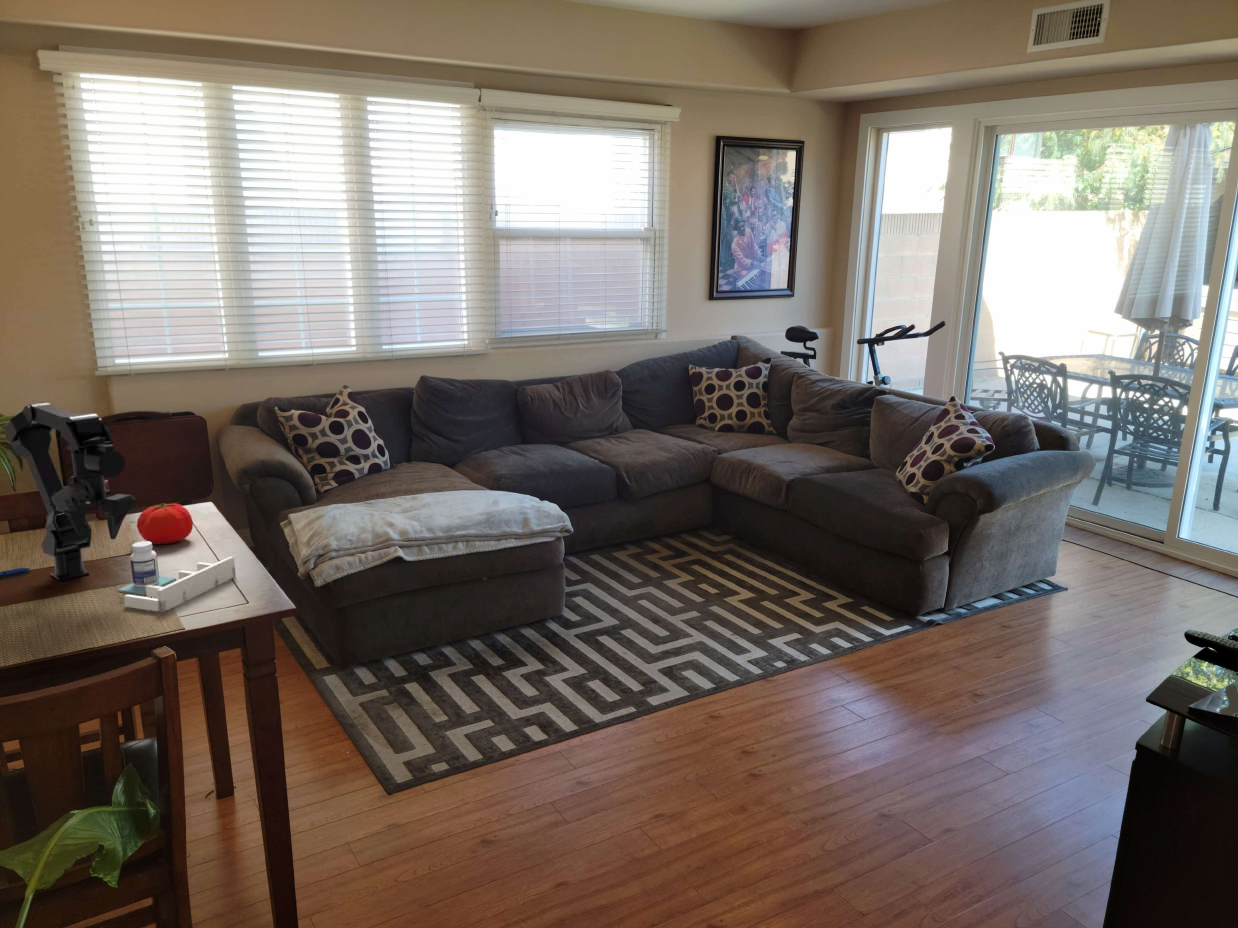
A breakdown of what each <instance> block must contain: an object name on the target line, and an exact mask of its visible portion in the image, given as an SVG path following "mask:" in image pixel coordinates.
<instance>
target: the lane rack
mask: <svg viewBox="0 0 1238 928" xmlns="http://www.w3.org/2000/svg"><path fill="white" fill-rule="evenodd" d="M196 566H197V567H196V568H197V571H190V570H189V571H188V570H179V571H178V579H177V580H176V581H173V582H171V583H169V584H167V585H165V586H162V587H160V586H153V585H147V586H145V587H146V594H145V595H146V596H144V595H137V594H130V593H126V594H125V595H124V598H123V599H124V606H125V608H131V609H138V610H145V611H151V610H152V611H153V612H157V611H160V612H159V613H164V611H165V612H167V611H168V610H171V609H173V608H175V607H176V606H178V605H181V604H183V603H184V602H187V601H189V600H191V599H194V598H196V597H197V596H199V595H201V594H203V593H206V592H207V591H210V590H212V589H213V588H215V587H218V586H219V585H222V584H223V583H226V582H227V581H229V580H232V579H234V578H236V569H235V568H236V567H235V566H236V564H235V556H229V557H226V558H224V559H222V560H220V561H217V562H215V563H208V562H201V561H199V562H197V563H196ZM151 597H152V598H151ZM166 610H167V611H166Z"/></svg>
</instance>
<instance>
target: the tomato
mask: <svg viewBox="0 0 1238 928" xmlns="http://www.w3.org/2000/svg"><path fill="white" fill-rule="evenodd" d="M193 527H194V522H193V518H192V515H191V513H190V512H189V510H188V509H187V508H186V507H185V506H183V505H181V504H179V502H174V503H163V502H162V503H160V504H155V505H152V506H150V507H148V508H146V509H144V510H143V511H142V512H141V513H140V514H139V516H138V519H137V521H136V529H137V530H138V531H137V532H138V533H139V535H140V536H141V537H142V539H143V540H144V541H149V542H151V543H152V544H156V545H161V544H162V545H163V544H172V543H176V542H180V541H182V540H185V539H187V537H189V536H190V534H191V533H192V531H193Z"/></svg>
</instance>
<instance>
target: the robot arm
mask: <svg viewBox="0 0 1238 928" xmlns="http://www.w3.org/2000/svg"><path fill="white" fill-rule="evenodd" d="M53 430H56V431H58V432H60V435H61V438H63V439H64V440H66V441H67V443H68V444H67V445H66V449H67V450H69V451H70V454H71V461H72V462H71V463H72V468H73V476H69V479H68V482H69V483H68V485H67V486H65V487H64V486H63V484H62V481H61V479H60V476H59V474H58V470H57V469H56V467H55V464H54V461H53V458H52V456H51V454H50V451H49V450H50V446H51V443H52V439H53V438H52V435H51V434H52V432H53ZM4 434H5V439H7V441H8V442H9V443H10V445H11V447H12V449H13V451H15V452H16V453H17V454H19V455H20V456H22V457H23V458H25V460H26V462H27V464H28V465H27V466H28V468H29V470H30V472H31V475H32V476H33V480H34V482H35V484H36V487H37V489H38V491H39V495H40V497H41V500H42V502H43V504H44V507H45V510H46V512H47V514H48V517H47V520H46V524H45V527H44V528H45V532H46V534H45V536H44V538H43V539H42V542H41V545H40V546H41V550H42V552H43V554H46V555H49V556H51V557H53V561H54V568H55V569H54V570H55V571H51V572H50V576H52V577H54V578H56V579H57V580H58V581H65V580H70V579H73V578H78V577H82V576H86V575H90V574H91V572H90V571H89V570H87V569H86V568H85V567H84V560H83V553H82V549H86V548H87V549H88V548H91V543H92V542H91V541H92V533H93V532H92V531H93V530H92V528H91V525H90V523H89V522H88V521H87V519H86V511H87V509H86V508H87V505H91V506H100V509H101V510H102V511H103V512H101V513H100V514H101V516H103V517H104V518H105V519H106V523H107V528H108V534H109V538H110V539H111V540H115V539H117V537H118V534H119V531H120V529H121V527H122V524H123V522H124V520H125V518H126V516H127V513H128V511H129V512H130V511H131V510H132V509H133V508H135V507H137V506H136V498H135V497H134V496H133V495H131V494H125V493H124V494H123V493H117V494H114V495H111V490H110V489H109V490H108V489H107V488H106V481H105V479H107V478H109V477H111V478H112V477H113V478H114V477H117V476H119V475H120V474H122V472H123V471H124V470H125V466H126V459H125V458H124V456H123V454H122V453H121V452H120V451H116V450H115V445H114V441H113V435H112V434H111V432H110V431H109V429H108V428H107V426H106V424H105V423H104V421H103V420H102V418H101V417H100V416H99V415H98V414H97V413H93V412H92V413H89V412H87V413H86V412H85V413H74V412H71V411H68V410H65V409H63V408H60V407H57V406H54V405H52V403H50V402H39V403H38V402H37V403H31V404H30V403H29V404H27V405H25V406H24V407H23V409H22V411H21V412H19V413H18V414H16V415H14V416H13V417H12V418H11V419H9V421H8V423H7V424H6V427H5V429H4ZM107 496H109V497H107Z"/></svg>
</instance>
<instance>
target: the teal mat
mask: <svg viewBox="0 0 1238 928" xmlns="http://www.w3.org/2000/svg"><path fill="white" fill-rule="evenodd" d="M175 581H177V578H175V577H171V576H170V577H169V576H163V575H159V582H158V583H157V584H156V585H154V586H160V587H165V586H167V585H169V584H171V583H173V582H175ZM117 591H118V593H119V592H120V593H126V594H131V595H137V596H144V595H146V587H136V586H134V584H133V582H132V583H130V584H128V585H125V586H123V587H121V588H118V589H117Z"/></svg>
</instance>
